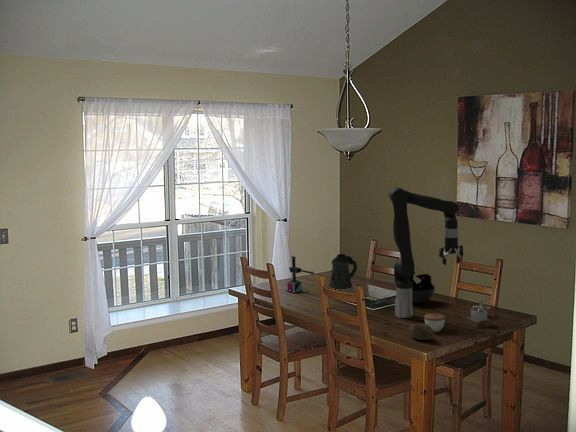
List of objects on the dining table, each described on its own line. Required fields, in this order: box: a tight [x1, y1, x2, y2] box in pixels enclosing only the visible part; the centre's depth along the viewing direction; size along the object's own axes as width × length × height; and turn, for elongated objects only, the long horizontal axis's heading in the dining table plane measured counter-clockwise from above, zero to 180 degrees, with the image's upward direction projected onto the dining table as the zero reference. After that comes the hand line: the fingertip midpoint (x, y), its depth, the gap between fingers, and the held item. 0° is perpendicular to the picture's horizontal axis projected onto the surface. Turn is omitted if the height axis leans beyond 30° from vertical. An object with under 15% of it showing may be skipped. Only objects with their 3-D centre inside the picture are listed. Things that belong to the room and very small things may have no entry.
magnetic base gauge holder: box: [285, 255, 315, 294], centre depth 431 cm, size 25×9×24 cm, turn 39°
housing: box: [470, 307, 488, 322], centre depth 346 cm, size 8×5×6 cm, turn 17°
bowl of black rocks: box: [408, 270, 436, 304], centre depth 394 cm, size 20×20×19 cm
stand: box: [463, 316, 495, 329], centre depth 347 cm, size 11×11×3 cm
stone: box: [407, 322, 436, 341], centre depth 325 cm, size 17×9×8 cm, turn 40°
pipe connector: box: [471, 298, 491, 311], centre depth 362 cm, size 10×10×10 cm
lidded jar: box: [424, 312, 446, 333], centre depth 339 cm, size 11×11×9 cm
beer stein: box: [328, 253, 358, 291], centre depth 433 cm, size 16×19×25 cm
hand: (451, 263), depth 363 cm, fingers open, 8 cm apart
